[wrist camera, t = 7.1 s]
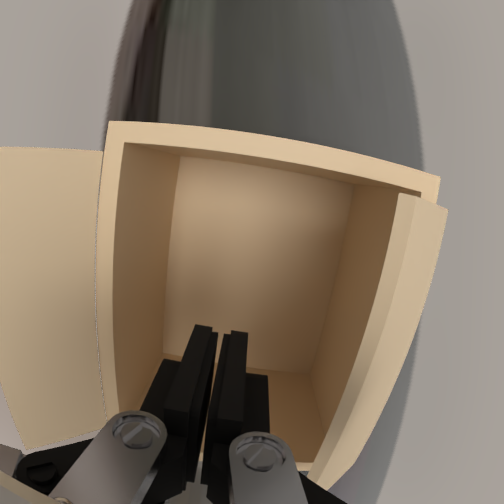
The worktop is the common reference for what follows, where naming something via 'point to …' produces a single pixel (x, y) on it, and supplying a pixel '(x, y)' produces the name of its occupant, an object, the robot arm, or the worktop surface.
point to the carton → (242, 261)
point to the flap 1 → (49, 292)
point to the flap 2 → (384, 334)
